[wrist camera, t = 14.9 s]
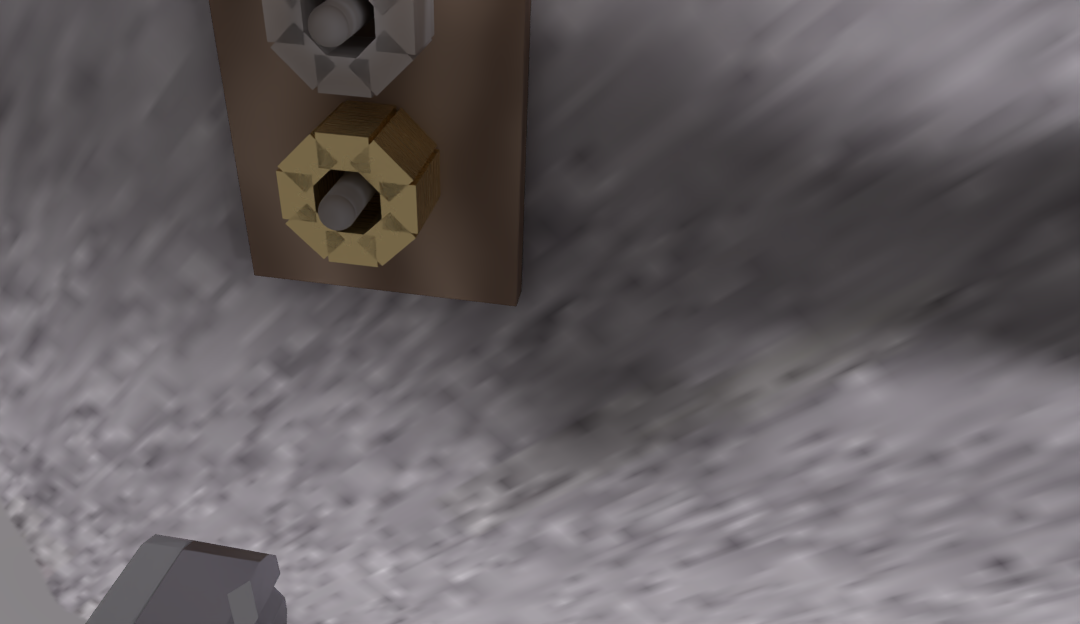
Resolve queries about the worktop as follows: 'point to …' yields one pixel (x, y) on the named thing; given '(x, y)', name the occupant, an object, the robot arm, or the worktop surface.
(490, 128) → the gear board
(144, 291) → the worktop surface
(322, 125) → the octagonal hollow tube
